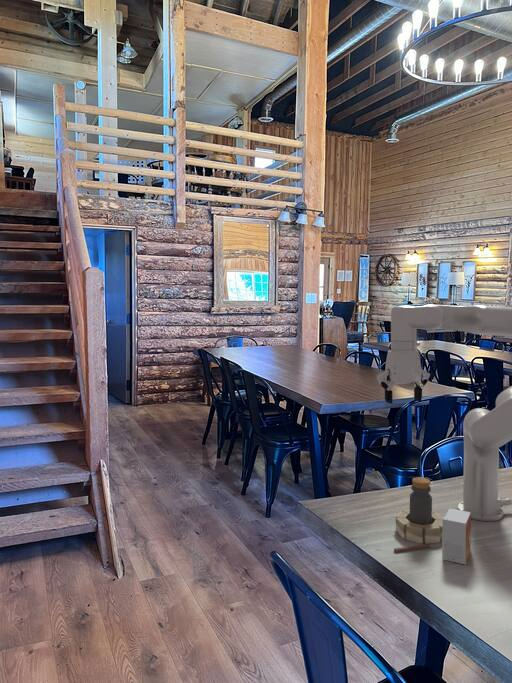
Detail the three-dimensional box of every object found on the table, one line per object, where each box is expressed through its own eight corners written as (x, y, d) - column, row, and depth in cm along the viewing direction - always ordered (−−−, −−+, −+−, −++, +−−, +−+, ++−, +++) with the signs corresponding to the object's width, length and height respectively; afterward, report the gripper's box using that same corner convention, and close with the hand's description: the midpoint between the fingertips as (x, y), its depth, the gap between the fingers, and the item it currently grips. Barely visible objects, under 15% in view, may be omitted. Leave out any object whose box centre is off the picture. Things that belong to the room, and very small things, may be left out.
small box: (465, 565, 122) (466, 524, 121) (441, 559, 125) (442, 519, 124) (471, 551, 129) (471, 511, 128) (448, 546, 132) (448, 507, 131)
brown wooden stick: (428, 546, 132) (428, 543, 132) (430, 547, 131) (430, 545, 131) (393, 551, 130) (393, 548, 130) (395, 552, 129) (395, 550, 129)
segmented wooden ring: (428, 520, 147) (428, 507, 147) (453, 540, 135) (454, 525, 135) (389, 525, 145) (389, 511, 144) (411, 545, 132) (411, 531, 132)
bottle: (432, 538, 136) (433, 484, 135) (410, 536, 138) (411, 483, 136) (430, 528, 142) (430, 476, 141) (408, 526, 143) (409, 475, 142)
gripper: (422, 344, 158) (422, 397, 160) (371, 346, 155) (371, 401, 156) (436, 346, 151) (435, 402, 153) (383, 348, 147) (383, 406, 149)
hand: (403, 401), depth 154 cm, fingers open, 9 cm apart
